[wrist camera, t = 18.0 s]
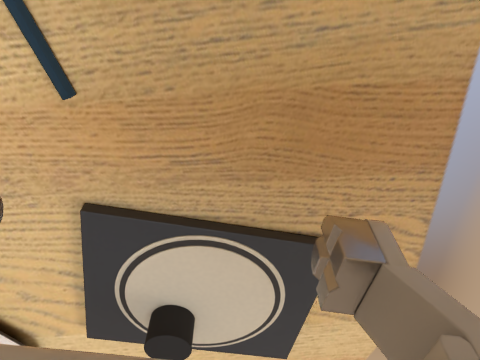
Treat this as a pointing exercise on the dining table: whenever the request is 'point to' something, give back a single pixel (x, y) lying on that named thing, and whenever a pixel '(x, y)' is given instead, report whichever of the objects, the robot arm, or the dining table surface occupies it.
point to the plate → (9, 340)
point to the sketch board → (195, 279)
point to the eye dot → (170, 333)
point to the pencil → (40, 47)
